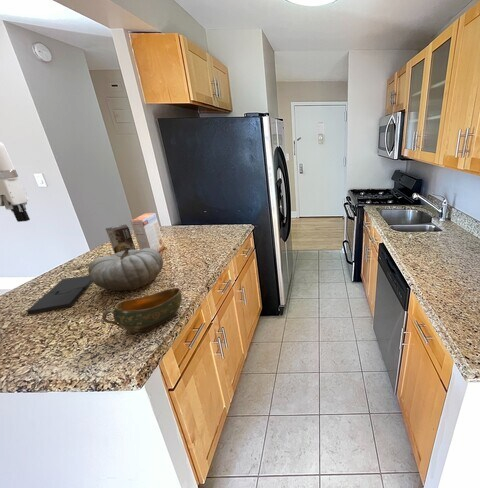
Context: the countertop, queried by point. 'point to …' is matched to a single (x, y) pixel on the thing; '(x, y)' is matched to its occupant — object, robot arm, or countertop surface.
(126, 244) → the coffee box
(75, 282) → the pad
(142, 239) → the cracker box
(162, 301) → the green gravy boat
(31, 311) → the base pad
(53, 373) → the countertop surface
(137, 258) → the gourd
